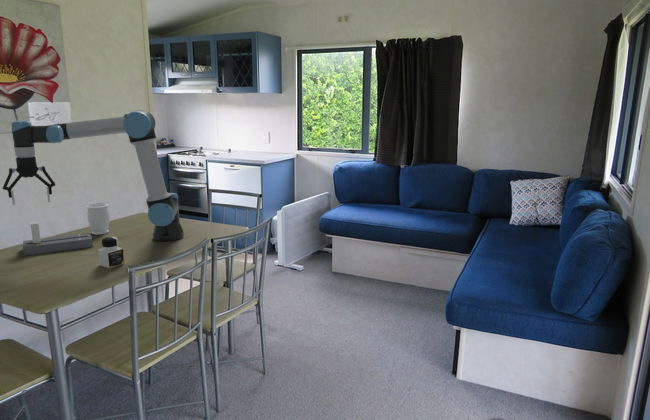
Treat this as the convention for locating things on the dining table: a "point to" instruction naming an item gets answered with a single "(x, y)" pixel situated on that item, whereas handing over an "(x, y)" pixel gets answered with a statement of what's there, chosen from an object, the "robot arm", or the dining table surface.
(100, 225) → the jar
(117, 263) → the medicine bottle
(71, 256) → the dining table surface
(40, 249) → the slider console
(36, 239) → the fader tab
